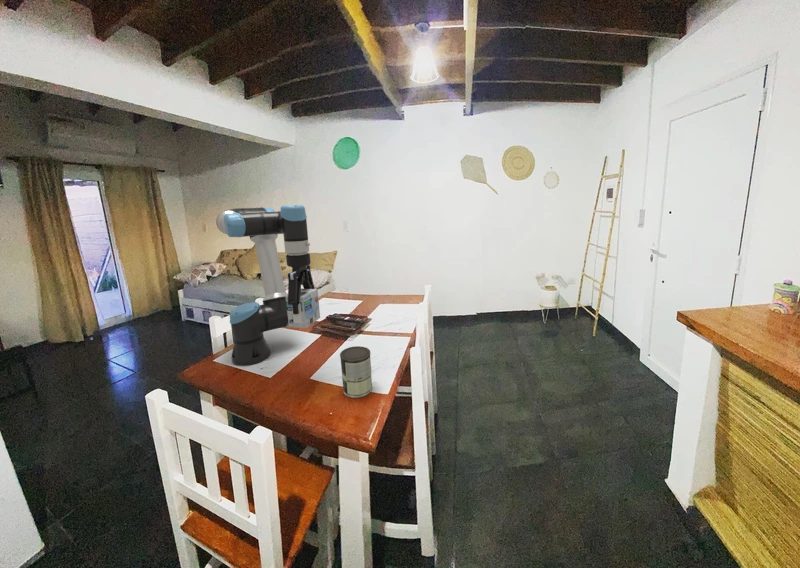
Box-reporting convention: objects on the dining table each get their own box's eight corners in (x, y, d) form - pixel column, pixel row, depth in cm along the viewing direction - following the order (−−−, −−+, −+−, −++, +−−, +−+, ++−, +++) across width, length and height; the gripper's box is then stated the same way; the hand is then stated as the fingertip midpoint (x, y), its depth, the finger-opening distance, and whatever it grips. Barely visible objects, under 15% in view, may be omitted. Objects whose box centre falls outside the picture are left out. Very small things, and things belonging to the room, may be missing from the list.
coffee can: (336, 391, 109) (333, 355, 106) (356, 378, 117) (354, 343, 114) (358, 401, 103) (356, 363, 100) (378, 386, 111) (376, 350, 108)
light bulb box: (306, 328, 103) (303, 297, 100) (288, 327, 104) (284, 296, 101) (321, 317, 113) (318, 288, 110) (303, 316, 114) (300, 287, 112)
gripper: (295, 259, 91) (303, 329, 96) (319, 248, 114) (325, 305, 119) (270, 259, 91) (279, 329, 97) (299, 248, 114) (305, 305, 120)
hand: (304, 316), depth 108 cm, fingers closed on light bulb box, 11 cm apart
